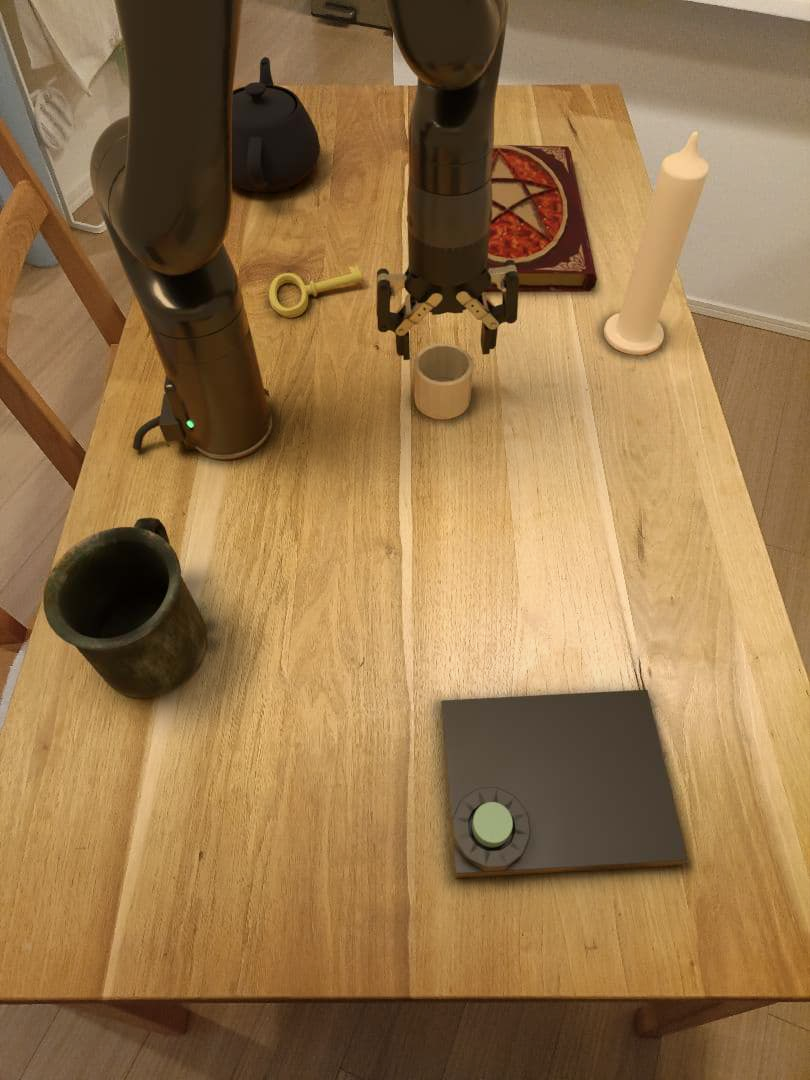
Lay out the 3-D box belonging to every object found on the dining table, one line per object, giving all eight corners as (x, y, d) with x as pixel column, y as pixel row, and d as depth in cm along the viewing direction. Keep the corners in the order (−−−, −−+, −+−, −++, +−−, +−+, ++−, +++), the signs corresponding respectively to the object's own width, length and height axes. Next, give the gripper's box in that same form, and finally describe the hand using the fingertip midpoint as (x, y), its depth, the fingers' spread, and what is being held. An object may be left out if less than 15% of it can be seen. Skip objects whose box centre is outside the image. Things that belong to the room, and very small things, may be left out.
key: (368, 286, 99) (367, 272, 97) (284, 323, 95) (281, 309, 94) (340, 257, 102) (339, 243, 100) (258, 291, 99) (254, 278, 97)
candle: (661, 359, 91) (735, 156, 70) (601, 351, 92) (657, 148, 71) (663, 319, 95) (733, 115, 74) (605, 312, 96) (658, 108, 75)
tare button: (473, 848, 59) (475, 844, 57) (469, 808, 60) (471, 802, 59) (512, 846, 59) (515, 841, 57) (508, 806, 60) (510, 800, 59)
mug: (79, 701, 69) (22, 643, 59) (123, 562, 77) (78, 490, 67) (199, 708, 68) (161, 652, 58) (230, 568, 76) (202, 496, 66)
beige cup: (416, 421, 86) (416, 386, 82) (412, 379, 90) (412, 344, 85) (472, 418, 87) (475, 383, 82) (467, 377, 90) (470, 341, 85)
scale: (454, 878, 60) (456, 870, 58) (440, 708, 68) (441, 693, 65) (680, 865, 61) (694, 856, 58) (642, 697, 68) (652, 682, 65)
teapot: (319, 219, 107) (309, 132, 96) (207, 222, 107) (185, 135, 96) (325, 121, 120) (316, 36, 110) (225, 124, 120) (208, 38, 110)
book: (592, 294, 98) (601, 261, 94) (428, 292, 98) (430, 259, 94) (567, 167, 114) (574, 134, 110) (425, 165, 114) (426, 131, 109)
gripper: (521, 188, 71) (505, 323, 85) (368, 198, 71) (377, 332, 85) (534, 239, 67) (515, 372, 81) (372, 250, 67) (381, 381, 81)
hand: (445, 351), depth 83 cm, fingers open, 8 cm apart
